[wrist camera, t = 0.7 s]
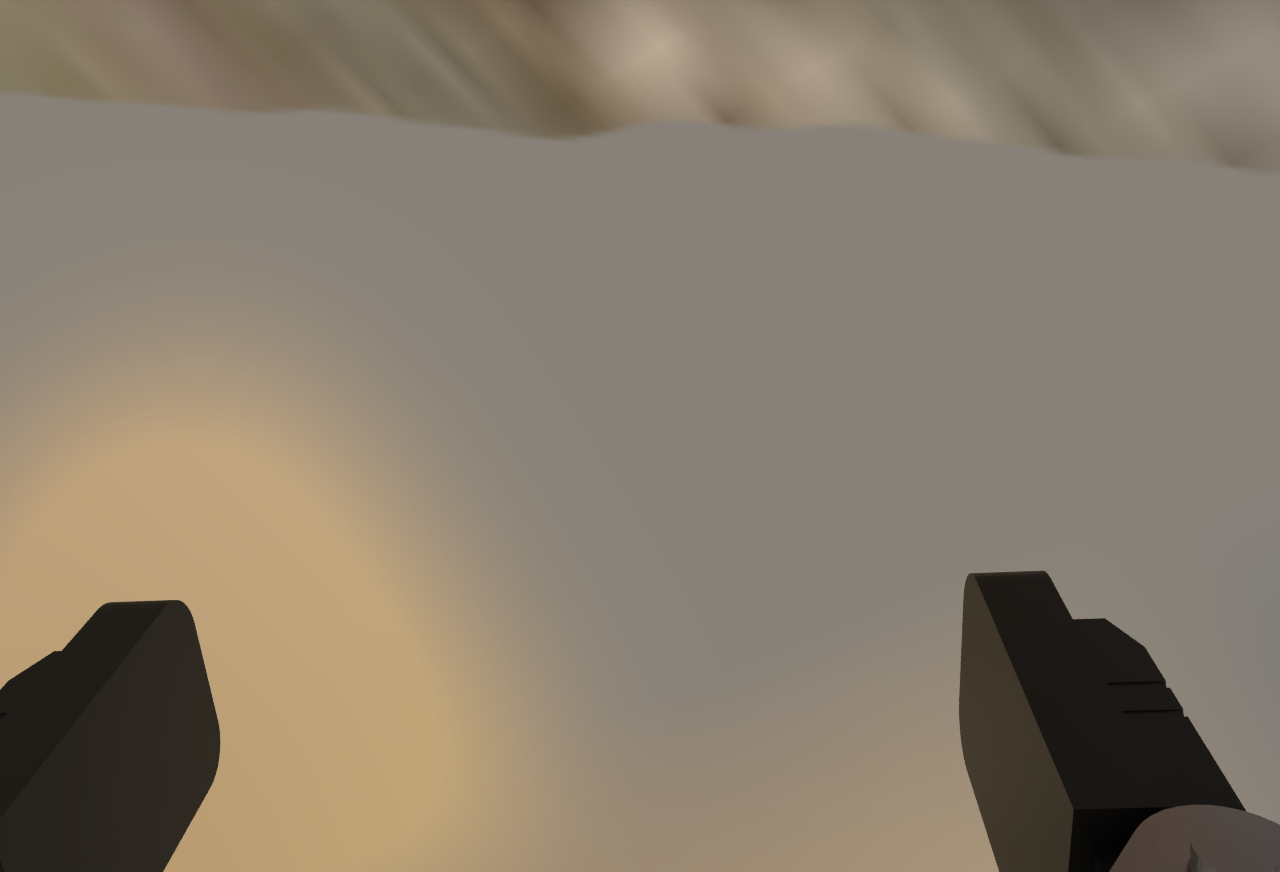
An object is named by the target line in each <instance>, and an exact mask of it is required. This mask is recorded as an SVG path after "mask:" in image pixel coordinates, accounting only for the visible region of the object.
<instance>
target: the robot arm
mask: <svg viewBox="0 0 1280 872" xmlns="http://www.w3.org/2000/svg"><path fill="white" fill-rule="evenodd" d="M959 720H960V734H961V742H962V749H963V755H964V760H965V765H966V768H967V772H968V775H969V778H970V781H971V784H972V787H973V790H974V794H975V797H976V800H977V803H978V806H979V809H980V813H981V816H982V819H983V822H984V825H985V828H986V831H987V835H988V838H989V841H990V844H991V847H992V850H993V853H994V857H995V860H996V863H997V866H998V869H999V872H1280V825H1279V824H1277V823H1275V822H1273V821H1270V820H1268V819H1266V818H1263V817H1261V816H1258V815H1255V814H1252V813H1249V812H1246V810H1245V808H1244V807H1243V805H1242V804H1241V802H1240V800H1239V799H1238V797H1237V795H1236V794H1235V792H1234V791H1233V789H1232V787H1231V786H1230V784H1229V783H1228V781H1227V779H1226V778H1225V776H1224V774H1223V773H1222V771H1221V770H1220V768H1219V766H1218V765H1217V763H1216V761H1215V760H1214V758H1213V757H1212V755H1211V753H1210V752H1209V750H1208V749H1207V747H1206V745H1205V744H1204V742H1203V741H1202V739H1201V737H1200V736H1199V734H1198V732H1197V731H1196V729H1195V728H1194V726H1193V724H1192V723H1191V721H1190V720H1189V718H1188V717H1184V714H1183V708H1182V707H1181V705H1180V704H1179V702H1178V700H1177V699H1176V697H1175V695H1174V694H1173V692H1172V690H1171V689H1170V688H1166V681H1165V679H1164V677H1163V676H1162V674H1161V673H1160V671H1159V670H1158V668H1157V666H1156V664H1155V663H1154V661H1153V660H1152V658H1151V657H1150V655H1149V653H1148V652H1147V650H1146V649H1145V647H1144V646H1143V645H1141V644H1140V643H1138V642H1137V641H1136V640H1134V639H1133V638H1131V637H1130V636H1129V635H1127V634H1126V633H1124V632H1123V631H1122V630H1120V629H1119V628H1117V627H1116V626H1115V625H1113V624H1112V623H1110V622H1109V621H1108V620H1106V619H1105V618H1103V619H1072V617H1071V615H1070V613H1069V612H1068V610H1067V608H1066V606H1065V604H1064V602H1063V601H1062V599H1061V597H1060V595H1059V593H1058V591H1057V589H1056V588H1055V586H1054V584H1053V582H1052V580H1051V578H1050V577H1049V575H1048V574H1047V573H1046V572H1045V571H1024V572H996V573H970V574H969V575H968V576H967V579H966V583H965V589H964V602H963V625H962V648H961V672H960V697H959ZM219 754H220V731H219V724H218V719H217V715H216V711H215V707H214V702H213V698H212V694H211V690H210V686H209V681H208V678H207V673H206V669H205V665H204V661H203V657H202V652H201V648H200V644H199V640H198V636H197V631H196V627H195V623H194V620H193V617H192V614H191V612H190V610H189V609H188V607H187V606H186V605H185V604H184V603H183V602H181V601H179V600H164V601H136V602H110V603H106V604H104V605H102V606H101V607H100V608H99V609H98V610H97V611H96V612H95V613H94V615H93V616H92V617H91V618H90V619H89V620H88V621H87V623H86V624H85V625H84V626H83V627H82V628H81V630H80V631H79V632H78V633H77V634H76V635H75V636H74V638H73V639H72V640H71V641H70V642H69V643H68V644H67V646H66V647H65V648H64V649H63V650H62V651H54V652H52V653H51V654H49V655H48V656H46V657H45V658H43V659H42V660H40V661H38V662H37V663H35V664H34V665H32V666H31V667H29V668H28V669H26V670H24V671H23V672H21V673H20V674H18V675H17V676H15V677H14V678H12V679H11V680H9V681H8V682H7V683H6V684H5V685H4V686H3V687H2V689H1V690H0V872H163V870H164V869H165V867H166V865H167V864H168V862H169V860H170V858H171V857H172V854H173V853H174V851H175V849H176V848H177V846H178V844H179V842H180V840H181V839H182V837H183V835H184V834H185V832H186V830H187V828H188V826H189V825H190V823H191V821H192V819H193V818H194V816H195V814H196V812H197V810H198V808H199V807H200V805H201V803H202V801H203V800H204V798H205V796H206V794H207V793H208V791H209V789H210V787H211V785H212V783H213V781H214V777H215V775H216V771H217V767H218V762H219Z"/></svg>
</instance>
